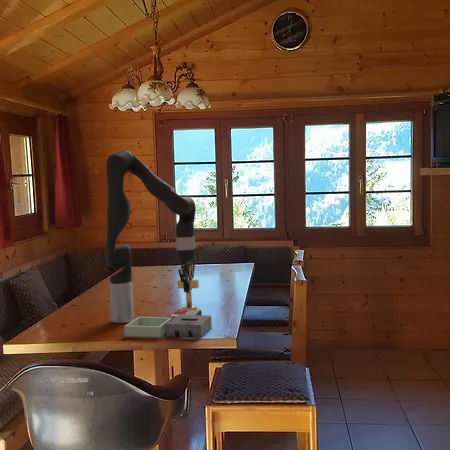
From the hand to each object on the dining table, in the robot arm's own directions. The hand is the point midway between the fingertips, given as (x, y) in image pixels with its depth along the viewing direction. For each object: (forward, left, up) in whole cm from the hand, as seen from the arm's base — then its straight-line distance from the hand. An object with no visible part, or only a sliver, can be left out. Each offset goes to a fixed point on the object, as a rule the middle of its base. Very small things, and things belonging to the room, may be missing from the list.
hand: (187, 291), depth 228 cm
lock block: (0, 0, -17) cm, 17 cm away
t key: (0, 0, -8) cm, 8 cm away
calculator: (-8, +17, -17) cm, 25 cm away
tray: (-16, -3, -17) cm, 23 cm away
